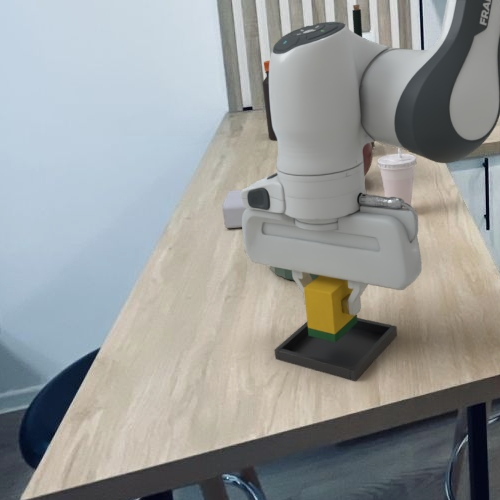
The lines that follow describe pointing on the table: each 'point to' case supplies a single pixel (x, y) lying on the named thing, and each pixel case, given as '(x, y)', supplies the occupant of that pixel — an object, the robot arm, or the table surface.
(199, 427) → the table surface
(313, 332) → the sponge
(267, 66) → the vinegar
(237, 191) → the charger
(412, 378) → the table surface
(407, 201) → the smoothie
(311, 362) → the square tray
